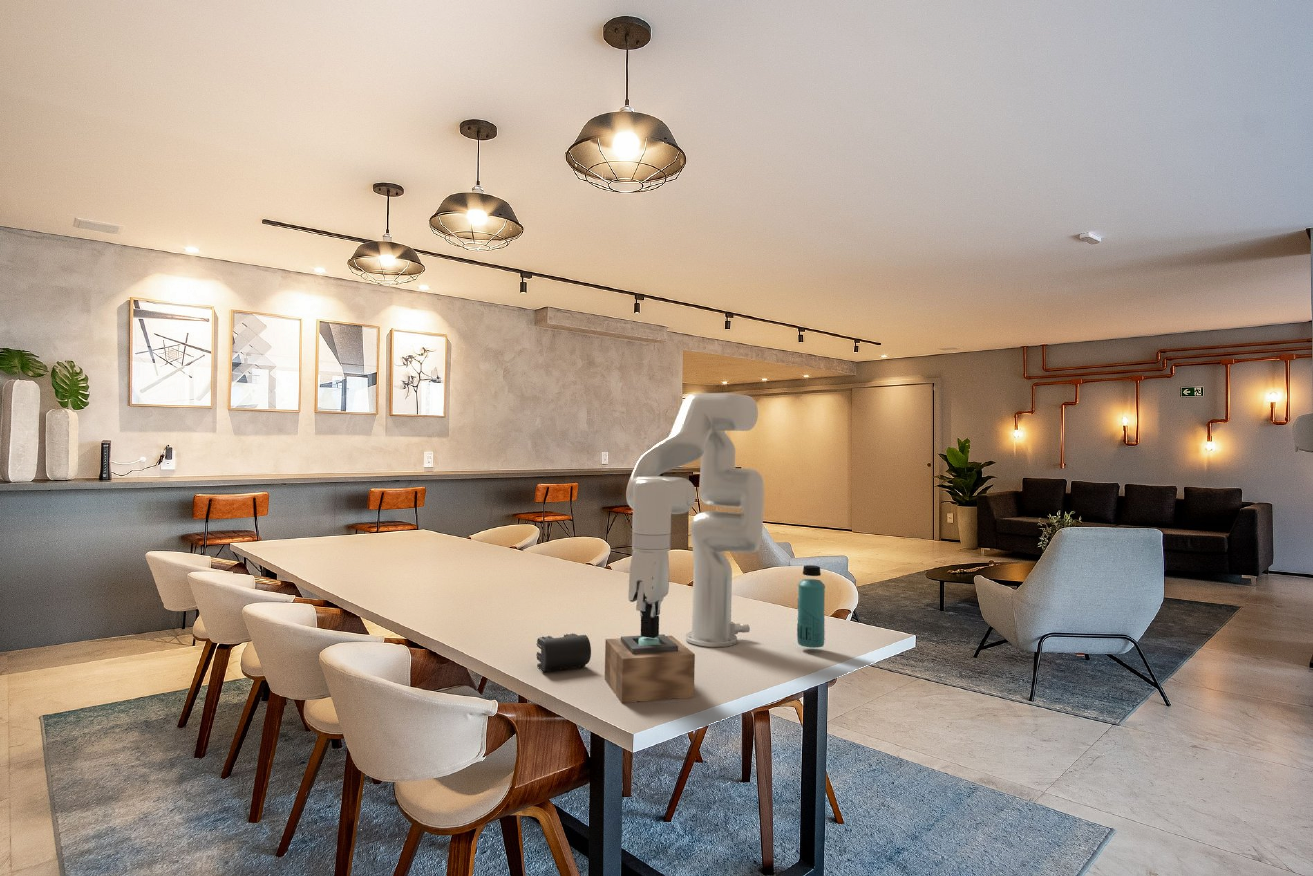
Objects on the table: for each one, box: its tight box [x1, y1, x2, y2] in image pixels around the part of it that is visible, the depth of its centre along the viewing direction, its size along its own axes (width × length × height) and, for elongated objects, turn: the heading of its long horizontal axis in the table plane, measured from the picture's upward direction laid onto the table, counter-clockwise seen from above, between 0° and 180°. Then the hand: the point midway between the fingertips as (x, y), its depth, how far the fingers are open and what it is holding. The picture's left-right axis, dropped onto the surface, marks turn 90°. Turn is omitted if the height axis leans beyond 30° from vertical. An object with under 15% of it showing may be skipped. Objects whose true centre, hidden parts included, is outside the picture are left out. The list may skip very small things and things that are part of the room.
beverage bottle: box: [796, 564, 826, 649], centre depth 167 cm, size 6×7×20 cm
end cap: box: [535, 633, 592, 673], centre depth 149 cm, size 10×7×7 cm
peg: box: [639, 637, 659, 646], centre depth 137 cm, size 4×4×9 cm
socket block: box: [604, 633, 696, 704], centre depth 137 cm, size 14×14×9 cm
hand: (649, 636), depth 138 cm, fingers closed
